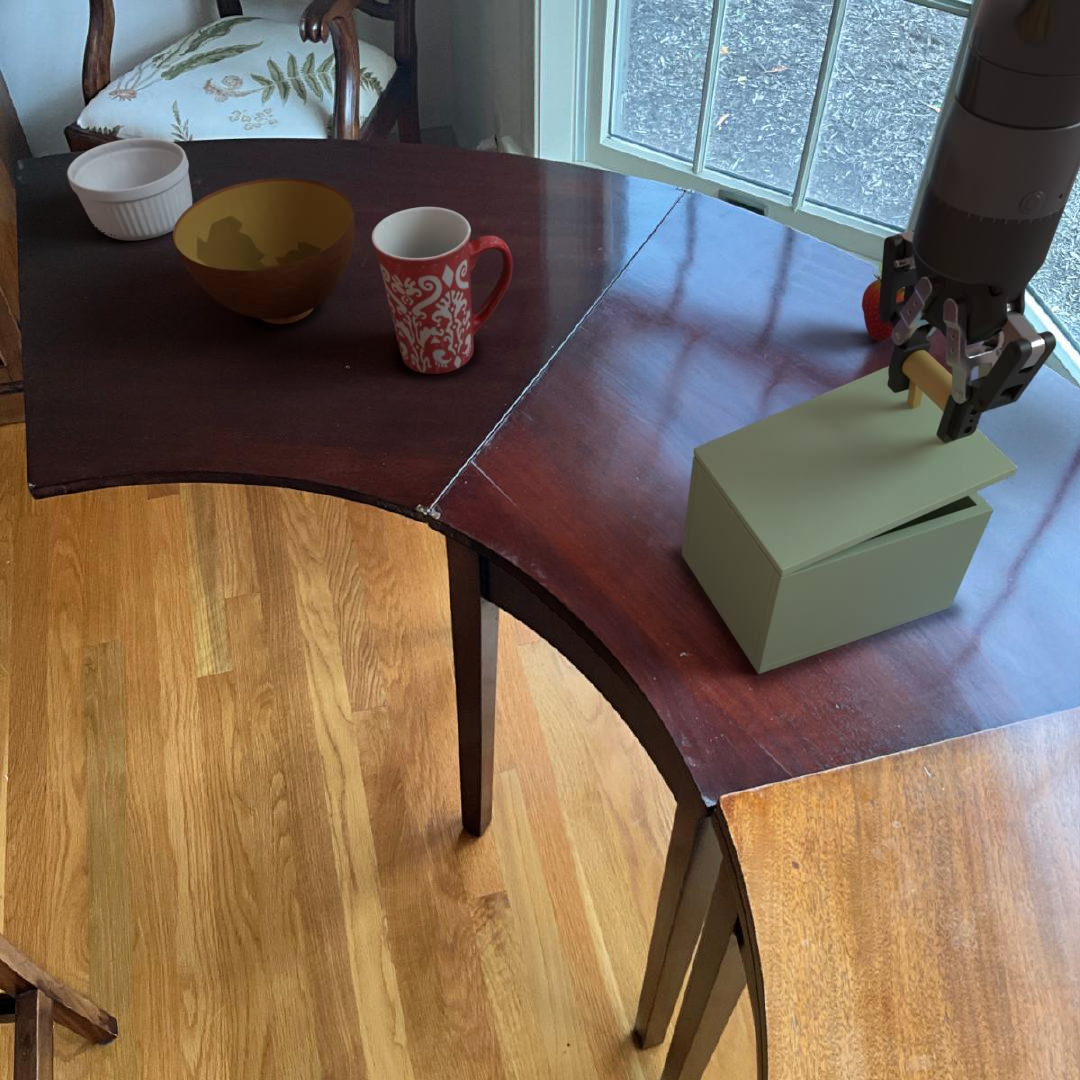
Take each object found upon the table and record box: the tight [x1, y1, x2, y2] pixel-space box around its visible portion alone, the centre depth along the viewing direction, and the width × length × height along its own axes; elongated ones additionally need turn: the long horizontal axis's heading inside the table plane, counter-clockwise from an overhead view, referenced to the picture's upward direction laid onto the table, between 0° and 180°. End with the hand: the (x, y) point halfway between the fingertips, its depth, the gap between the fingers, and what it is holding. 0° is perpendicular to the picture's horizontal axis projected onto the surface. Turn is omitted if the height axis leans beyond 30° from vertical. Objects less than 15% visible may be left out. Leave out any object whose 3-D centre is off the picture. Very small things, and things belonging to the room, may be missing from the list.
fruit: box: [861, 264, 905, 342], centre depth 96 cm, size 5×5×8 cm
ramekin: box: [66, 137, 193, 241], centre depth 117 cm, size 13×13×7 cm
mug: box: [371, 206, 514, 375], centre depth 95 cm, size 13×9×14 cm
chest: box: [681, 455, 995, 675], centre depth 74 cm, size 17×13×11 cm
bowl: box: [172, 177, 356, 325], centre depth 102 cm, size 18×18×10 cm
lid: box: [693, 350, 1018, 577], centre depth 67 cm, size 17×13×5 cm
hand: (926, 410), depth 68 cm, fingers closed on lid, 5 cm apart
